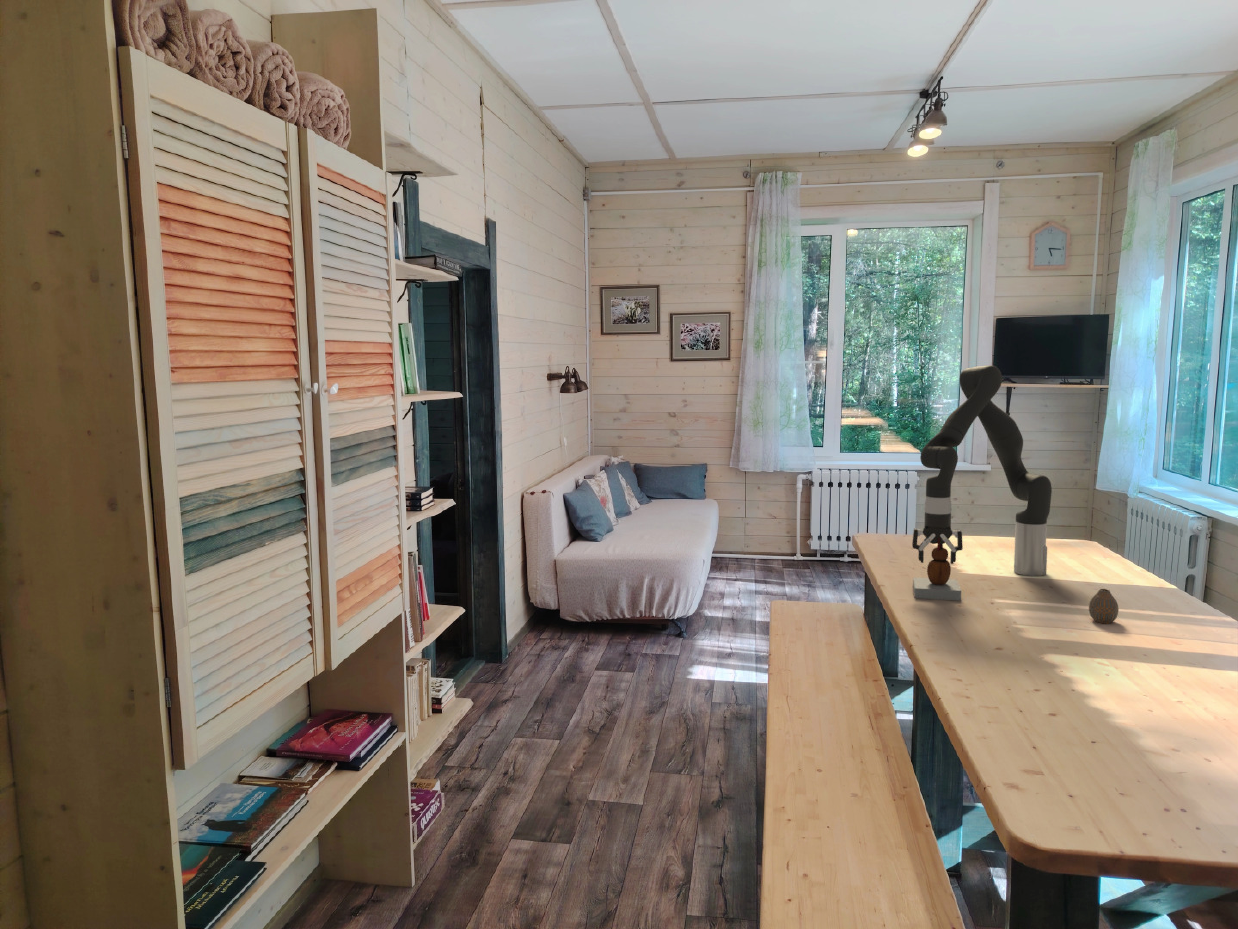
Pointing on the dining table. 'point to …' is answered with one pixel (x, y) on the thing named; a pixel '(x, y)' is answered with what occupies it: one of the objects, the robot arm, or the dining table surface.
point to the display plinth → (936, 589)
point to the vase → (1103, 607)
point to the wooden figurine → (939, 566)
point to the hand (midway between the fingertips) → (936, 562)
